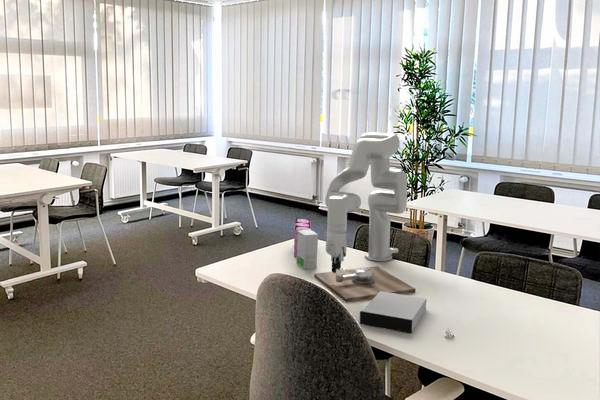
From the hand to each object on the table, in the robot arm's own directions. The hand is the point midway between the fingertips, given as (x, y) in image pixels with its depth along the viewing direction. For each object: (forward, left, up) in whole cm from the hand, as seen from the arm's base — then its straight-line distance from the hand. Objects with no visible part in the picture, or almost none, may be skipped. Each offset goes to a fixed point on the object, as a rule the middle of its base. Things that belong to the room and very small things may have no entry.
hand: (336, 271), depth 228 cm
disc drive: (-6, +35, -7) cm, 36 cm away
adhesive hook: (-14, +57, -7) cm, 59 cm away
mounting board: (-11, +3, -6) cm, 13 cm away
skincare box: (+1, -27, -6) cm, 28 cm away
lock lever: (-6, +3, -3) cm, 8 cm away
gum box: (-6, -50, -6) cm, 51 cm away
